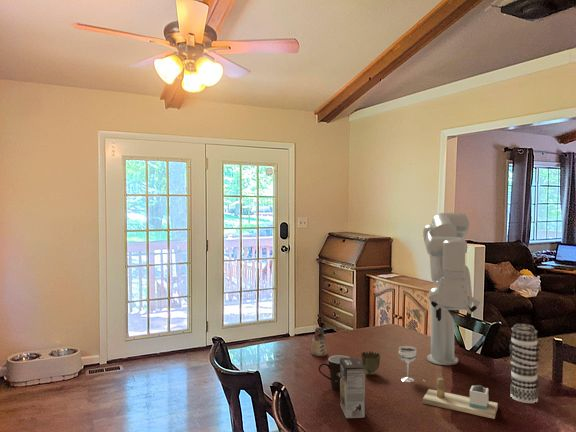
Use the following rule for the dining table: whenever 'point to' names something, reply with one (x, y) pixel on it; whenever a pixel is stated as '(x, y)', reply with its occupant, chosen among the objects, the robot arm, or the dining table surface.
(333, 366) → the coffee mug
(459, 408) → the pin board
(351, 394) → the coffee box
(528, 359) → the decorative candle
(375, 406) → the dining table surface
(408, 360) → the wineglass
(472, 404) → the sleeve
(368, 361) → the cup
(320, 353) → the figurine
